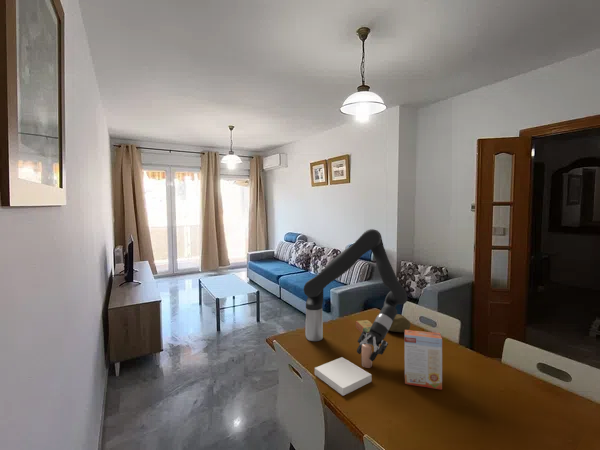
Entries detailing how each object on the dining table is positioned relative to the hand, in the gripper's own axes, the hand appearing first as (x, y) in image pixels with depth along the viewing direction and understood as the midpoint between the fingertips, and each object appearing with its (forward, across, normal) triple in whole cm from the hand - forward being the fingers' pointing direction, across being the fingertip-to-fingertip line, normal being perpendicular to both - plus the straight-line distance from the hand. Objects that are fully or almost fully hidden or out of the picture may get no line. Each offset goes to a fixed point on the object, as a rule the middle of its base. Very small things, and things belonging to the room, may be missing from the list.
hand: (364, 356), depth 134 cm
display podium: (+13, +1, -7) cm, 15 cm away
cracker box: (-3, +23, +10) cm, 25 cm away
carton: (-17, -25, +24) cm, 39 cm away
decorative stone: (-27, -16, +33) cm, 46 cm away
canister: (+2, 0, +4) cm, 5 cm away
